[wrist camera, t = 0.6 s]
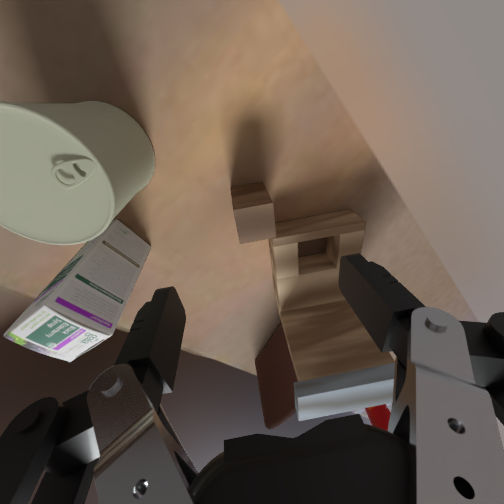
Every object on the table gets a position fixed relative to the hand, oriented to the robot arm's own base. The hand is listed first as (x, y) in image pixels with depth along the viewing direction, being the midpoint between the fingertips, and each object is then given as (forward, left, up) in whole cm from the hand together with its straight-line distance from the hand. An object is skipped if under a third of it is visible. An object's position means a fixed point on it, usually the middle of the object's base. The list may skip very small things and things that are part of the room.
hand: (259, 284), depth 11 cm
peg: (+3, +1, -19) cm, 20 cm away
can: (-5, -13, -20) cm, 24 cm away
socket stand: (+15, +9, -19) cm, 26 cm away
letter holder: (+35, +6, -20) cm, 41 cm away
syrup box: (+6, -17, -20) cm, 27 cm away
